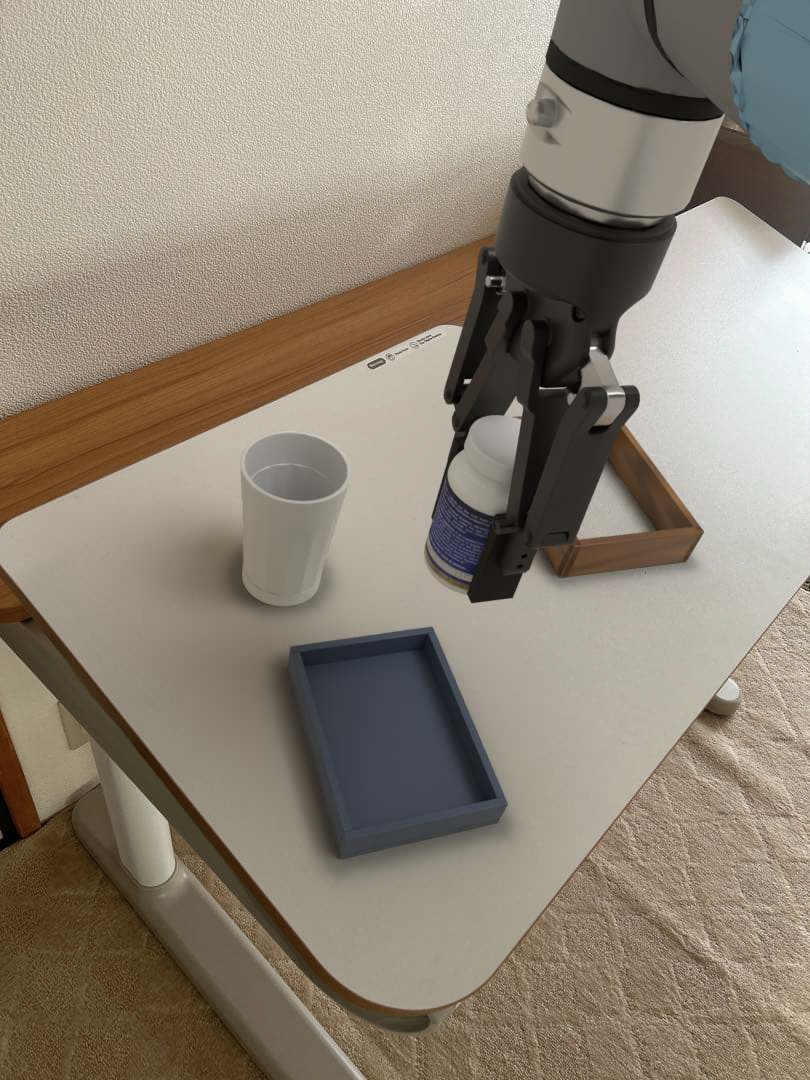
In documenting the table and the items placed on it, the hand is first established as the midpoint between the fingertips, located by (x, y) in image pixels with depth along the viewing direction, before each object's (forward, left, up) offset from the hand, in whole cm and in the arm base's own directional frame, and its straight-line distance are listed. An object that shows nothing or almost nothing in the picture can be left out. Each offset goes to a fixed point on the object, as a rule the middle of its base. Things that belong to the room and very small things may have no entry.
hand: (470, 555), depth 54 cm
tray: (-2, +3, -16) cm, 17 cm away
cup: (+14, +7, -17) cm, 23 cm away
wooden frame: (+19, -24, -16) cm, 35 cm away
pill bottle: (0, 0, -1) cm, 1 cm away
